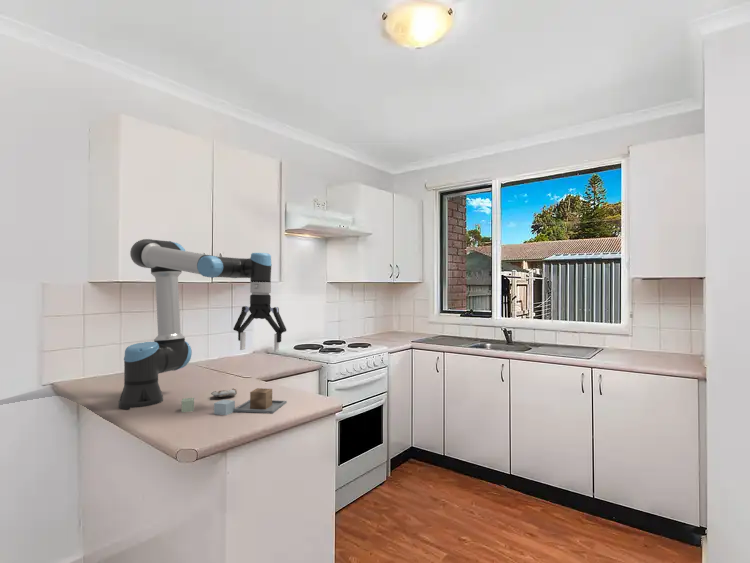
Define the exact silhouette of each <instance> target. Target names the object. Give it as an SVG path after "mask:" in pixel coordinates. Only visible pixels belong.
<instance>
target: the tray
mask: <svg viewBox="0 0 750 563" xmlns="http://www.w3.org/2000/svg"><path fill="white" fill-rule="evenodd" d="M286 404H287V400H275V399H272V405H271V406H270V407H269V408H267V409H250V399H249V400H247V401H245V402H243V403H242V404H239V405H238V406H237V407H236V406H235V409H234V412H233V413H241V414H242V413H245V414H272V415H273V414H274V413H275V412H277V411H278V410H279V409H281V408H282V407H283V406H284V405H286Z"/></svg>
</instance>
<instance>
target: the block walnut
mask: <svg viewBox="0 0 750 563" xmlns="http://www.w3.org/2000/svg"><path fill="white" fill-rule="evenodd" d="M249 400H250V409H267V408H269V407H270V406H271V405H272V400H273V388H262V387H261V388H260V387H257V388H255V389H253V390H251V391H250V392H249Z"/></svg>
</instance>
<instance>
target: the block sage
mask: <svg viewBox="0 0 750 563" xmlns="http://www.w3.org/2000/svg"><path fill="white" fill-rule="evenodd" d="M194 411H195V397H185V398H181V413H188V412H189V413H190V412H191V413H192V412H194Z"/></svg>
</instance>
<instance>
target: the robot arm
mask: <svg viewBox="0 0 750 563" xmlns="http://www.w3.org/2000/svg"><path fill="white" fill-rule="evenodd" d="M129 255H130V259H131V260H132V262H133V263H134V265H136V266H138V267H140V268H144V269H150V274H151V275H152V277H154V278H155V280H154V281H155V297H156V299H155V300H156V319H157V320H156V321H157V323H156V325H157V336H156V337H155V338H154V339H153V341H144V342H137V343H134V344H131V345H129V346H127V347H126V348H125V350H124V355H123V361H124V365H123V366H124V369H123V371H124V375H123V376H124V379H123V382H124V383H123V385H124V386H123V388H122V391H121V394H120V396H119V400H118V408H120V409H122V410H130V409H133V408H134V409H137V408H144V407H150V406H155V405H158V404H160V403H162V402H163V401H164V396H163V394H162V390H161V387H160V384H159V374H162V373H163V374H164V373H167V372H172V371H173V372H174V371H177V370H180V369H183V368H185V367H186V366H187V365H188V364H189V362H190V361H191V359H192V355H193V352H192V347H191V345H190V343H189V342H187V341H186V339H185V338H186V337H185V335H183V334H182V333H181V332H182V331H181V317H180V316H181V315H180V314H181V313H180V311H181V310H180V292H179V276H180V275H181V274H182V273H183V272H184V273H185V272H186V273H190V274H195V275H196V274H197V275H201V276H202V277H203V278H204V277H207V278H211V279H213V278H231V279H247V278H248V279H250V280H249V281H250V287H249V290H250V292H249V293H251V294H250V296H249V304H250V305H249V306H246V305H245V306H244V305H243V306H242V307H241V312H240V314H239V316H238V318H237V320H236V322H235V324H234V326H233V331H236V332H237V334H238V335H237V336H238V337H237V341H239V344H240V345H239V350H240V351H243V350H246V333H247V332H246V331H245V330H246V329H247V328H248V327H249V325H250V324H251V323H252V321H254V319H256V320H257V319H260V320H264V319H265V321H266V322H268V324H269V325H270V326H271V328H272V330H274V331H275V333H274V334H273V336H274V338H273V339H274V340H273V341H274V342H273V344H274V345H273V346H274V347H273V352H275V353H277V352H279V351H280V343H282V334H283V333H286V332H287V327H286V325H285V323H284V321H283V319H282V317H281V315H280V308H279V307H278V306H274V307H271V302H272V301H271V300H272V298H271V297H272V296H271V292H272V284H271V282H272V278H271V277H272V255H271V254H270V253H267V252H252V253H251V254H250V257H249V258H239V257H226V256H217V255H216V256H215V255H212V254H211V255H210V254H204V253H198V252H193V251H187V250H186V249H185V248H184V246H182V245H181V244H180V243H178V242H174V241H170V240H169V241H167V240H159V239H151V238H148V239H147V238H144V239H139V240H138V241H136V242H135V243H133V245H132V246H131V248H130V253H129ZM248 312H249V313H250V314H249V315H248V316H247V313H248ZM271 313H272V314H273V316H274V319H275V320H274V319H273V317H272V315H271ZM245 317H248V318H247V319H246V320H245Z"/></svg>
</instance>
